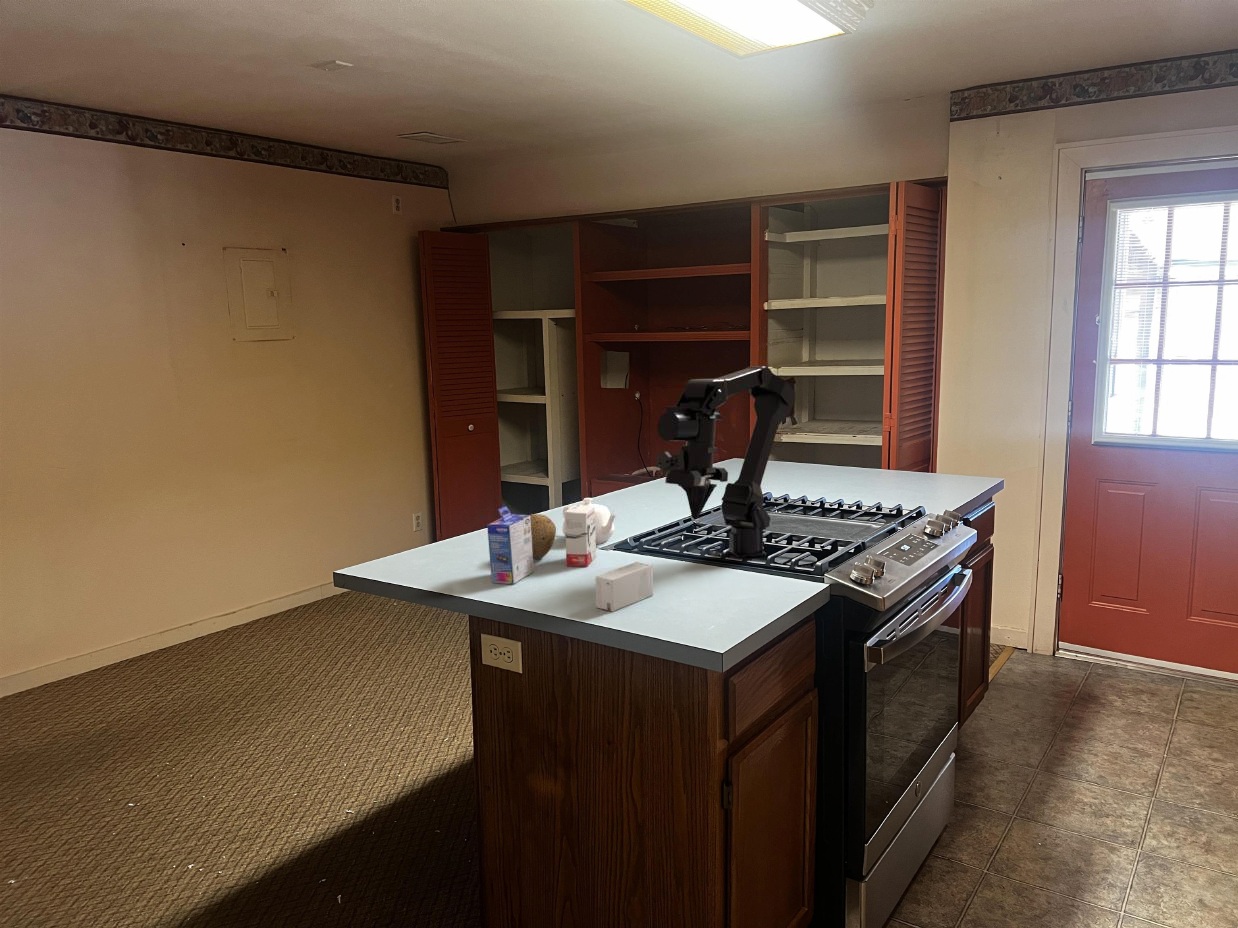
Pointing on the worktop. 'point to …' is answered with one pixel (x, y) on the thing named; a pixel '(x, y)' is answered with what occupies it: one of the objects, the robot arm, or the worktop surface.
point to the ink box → (580, 535)
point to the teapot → (599, 521)
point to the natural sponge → (542, 534)
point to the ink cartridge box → (510, 547)
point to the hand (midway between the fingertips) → (695, 517)
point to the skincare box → (624, 586)
